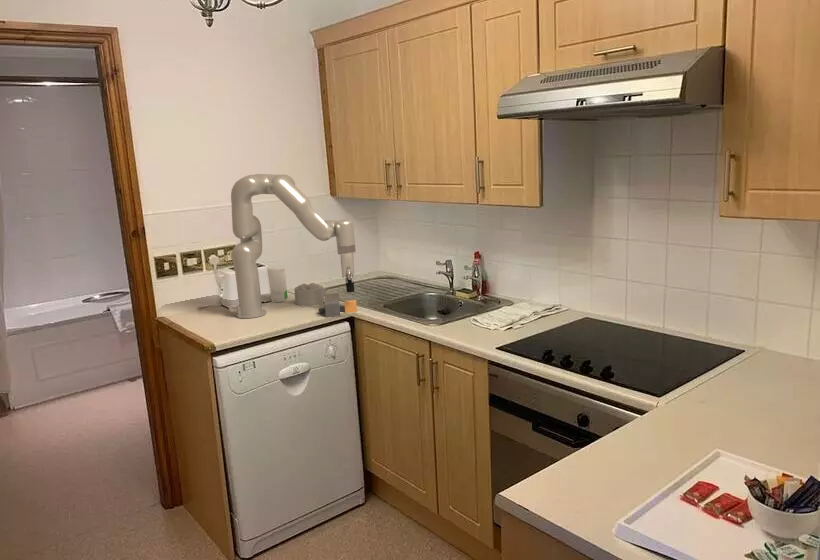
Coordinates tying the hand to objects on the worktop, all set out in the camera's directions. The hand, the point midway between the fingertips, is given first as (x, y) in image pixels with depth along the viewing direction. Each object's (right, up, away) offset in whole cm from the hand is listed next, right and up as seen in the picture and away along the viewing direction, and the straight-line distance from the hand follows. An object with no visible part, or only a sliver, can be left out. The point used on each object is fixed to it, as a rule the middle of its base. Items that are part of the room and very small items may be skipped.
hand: (350, 289), depth 274 cm
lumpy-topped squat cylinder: (-21, -7, +21) cm, 31 cm away
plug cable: (-5, -10, +1) cm, 11 cm away
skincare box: (-36, -6, +30) cm, 47 cm away
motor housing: (-7, -10, +1) cm, 12 cm away
